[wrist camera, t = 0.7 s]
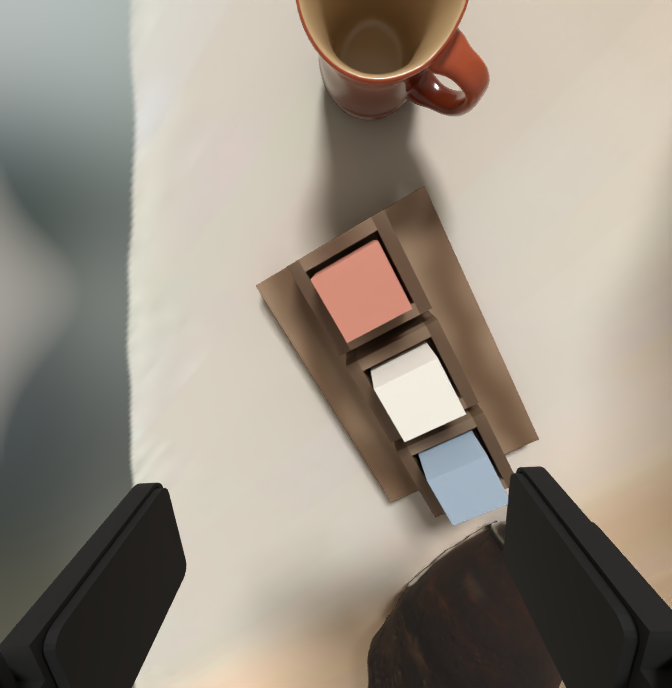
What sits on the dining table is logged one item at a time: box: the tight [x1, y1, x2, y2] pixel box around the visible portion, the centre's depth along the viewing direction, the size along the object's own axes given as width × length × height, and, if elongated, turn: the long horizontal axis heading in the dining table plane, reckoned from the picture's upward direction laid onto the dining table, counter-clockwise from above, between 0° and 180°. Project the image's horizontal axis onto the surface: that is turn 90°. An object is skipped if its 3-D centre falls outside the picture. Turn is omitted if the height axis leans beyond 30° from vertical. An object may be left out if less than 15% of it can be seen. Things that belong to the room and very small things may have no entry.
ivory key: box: [371, 341, 466, 442], centre depth 27 cm, size 5×5×4 cm
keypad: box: [256, 186, 539, 517], centre depth 31 cm, size 16×26×6 cm, turn 29°
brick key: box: [310, 240, 412, 343], centre depth 25 cm, size 5×5×4 cm
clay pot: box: [367, 521, 562, 688], centre depth 36 cm, size 15×15×25 cm
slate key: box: [418, 430, 508, 526], centre depth 29 cm, size 5×5×4 cm
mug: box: [296, 0, 489, 120], centre depth 22 cm, size 12×9×10 cm
